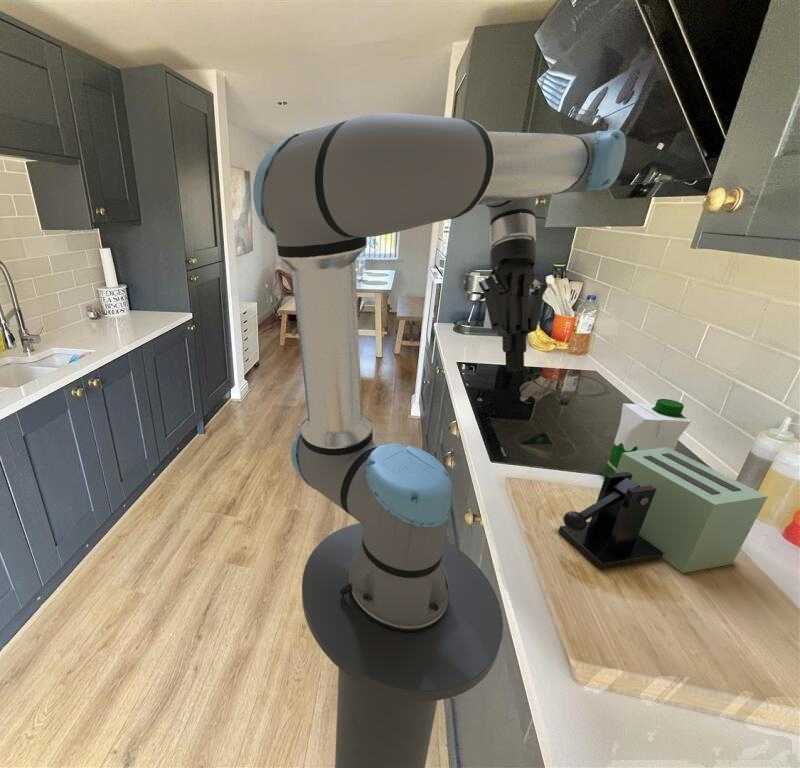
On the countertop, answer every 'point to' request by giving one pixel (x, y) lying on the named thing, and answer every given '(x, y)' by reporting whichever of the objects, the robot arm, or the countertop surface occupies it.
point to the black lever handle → (598, 506)
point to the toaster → (692, 508)
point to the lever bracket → (616, 528)
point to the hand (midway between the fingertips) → (514, 370)
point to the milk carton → (647, 429)
